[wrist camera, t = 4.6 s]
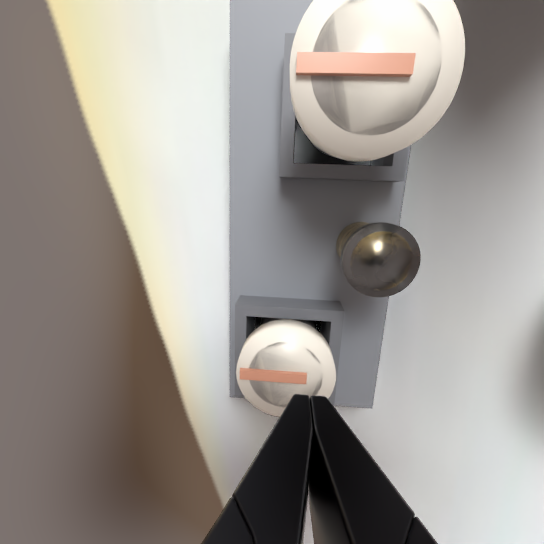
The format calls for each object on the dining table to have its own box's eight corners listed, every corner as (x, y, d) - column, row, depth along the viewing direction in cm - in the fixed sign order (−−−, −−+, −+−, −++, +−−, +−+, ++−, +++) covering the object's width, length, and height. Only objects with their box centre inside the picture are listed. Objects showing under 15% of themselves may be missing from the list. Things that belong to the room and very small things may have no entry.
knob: (327, 294, 19) (341, 335, 13) (321, 361, 20) (331, 424, 14) (252, 289, 19) (235, 328, 14) (251, 356, 20) (235, 416, 15)
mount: (411, 24, 15) (451, -35, 11) (363, 383, 20) (379, 427, 17) (239, 23, 16) (221, -33, 12) (237, 373, 21) (224, 414, 17)
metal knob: (392, 216, 15) (426, 224, 11) (384, 273, 16) (413, 299, 12) (332, 214, 15) (346, 221, 11) (328, 270, 16) (339, 295, 12)
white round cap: (404, 56, 13) (487, -47, 7) (389, 172, 14) (450, 159, 9) (294, 55, 13) (294, -45, 8) (288, 169, 14) (285, 154, 9)
